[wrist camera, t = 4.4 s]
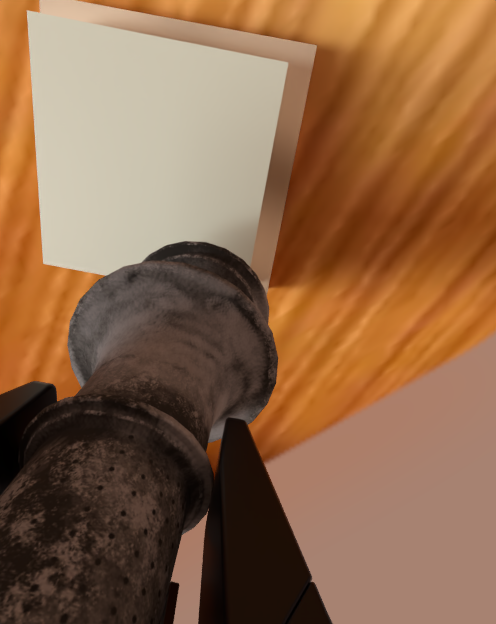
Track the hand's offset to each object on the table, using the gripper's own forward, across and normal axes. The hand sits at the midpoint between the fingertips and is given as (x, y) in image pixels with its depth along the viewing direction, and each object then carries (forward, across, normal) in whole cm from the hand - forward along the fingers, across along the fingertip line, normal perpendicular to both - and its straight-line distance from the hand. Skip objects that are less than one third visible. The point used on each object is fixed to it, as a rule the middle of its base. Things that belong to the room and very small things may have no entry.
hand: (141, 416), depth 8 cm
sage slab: (+11, +3, -4) cm, 12 cm away
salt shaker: (+6, 0, 0) cm, 6 cm away
